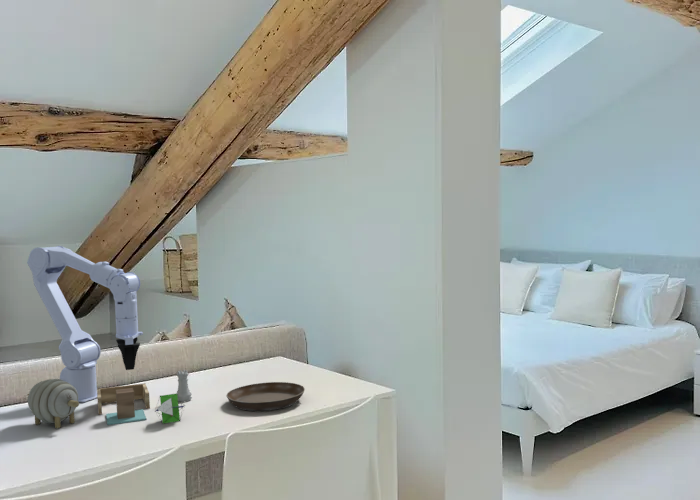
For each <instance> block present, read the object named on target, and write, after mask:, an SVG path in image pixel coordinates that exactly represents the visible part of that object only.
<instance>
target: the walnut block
mask: <svg viewBox="0 0 700 500" xmlns="http://www.w3.org/2000/svg"><path fill="white" fill-rule="evenodd" d="M115 403H116V412H117V417H118V419H124V418H131V417H135V410H136V409H135V400H134V391H133V388H128V389H120V390H116V402H115Z"/></svg>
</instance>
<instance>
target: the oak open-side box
mask: <svg viewBox="0 0 700 500" xmlns="http://www.w3.org/2000/svg"><path fill="white" fill-rule="evenodd" d="M128 388H133V391H134V401H136V400H143V402H144V405H145V408H146V409H150V408H151V406H150V405H151V404H150V403H151V402H150V401H151V400H150V392H149V389H148V387H147V384H146V383H138V384H128V385H127V384H126V385H120V386H111V387H102V388H100V387H99V388H97V398H96V399H97V409H98V410H97V412H98V415H101V416H102V415H103V409H102V405H103V404H110V403H111V404H112V403H117V402H116V390H120V389H128Z"/></svg>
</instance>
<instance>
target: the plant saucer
mask: <svg viewBox="0 0 700 500" xmlns="http://www.w3.org/2000/svg"><path fill="white" fill-rule="evenodd" d="M305 390H306V388H305V386H303V385H301V384H298V383H294V382H285V381H270V382H260V383H253V384H246V385H242V386H238V387H237V388H234V389H232V390H230V391H228V392H227V393H226V398H227V400H228V401H229V402H230V403H231V404H232V405H233V406H234V407H235V408H238V409H240V410H242V411H243V410H245V411H249V412H250V411H251V412H267V411H268V412H269V411H275V410H280V409H284V408H285V409H286V408H288V407H290V406H293V405H294V404H296V403H297V402H298V401H299V400H300V399H301V397H302V396H303V394H304V393H305Z"/></svg>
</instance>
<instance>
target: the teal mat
mask: <svg viewBox="0 0 700 500" xmlns="http://www.w3.org/2000/svg"><path fill="white" fill-rule="evenodd" d="M105 414H106V415H105V416H106V423H107V426H110V425H118V424H126V423H132V422H141V421H147V417H146V414H145V411H144V408H142V409H135V417H131V418H124V419H118V417H117V411H116V412H109V413H105Z"/></svg>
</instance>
